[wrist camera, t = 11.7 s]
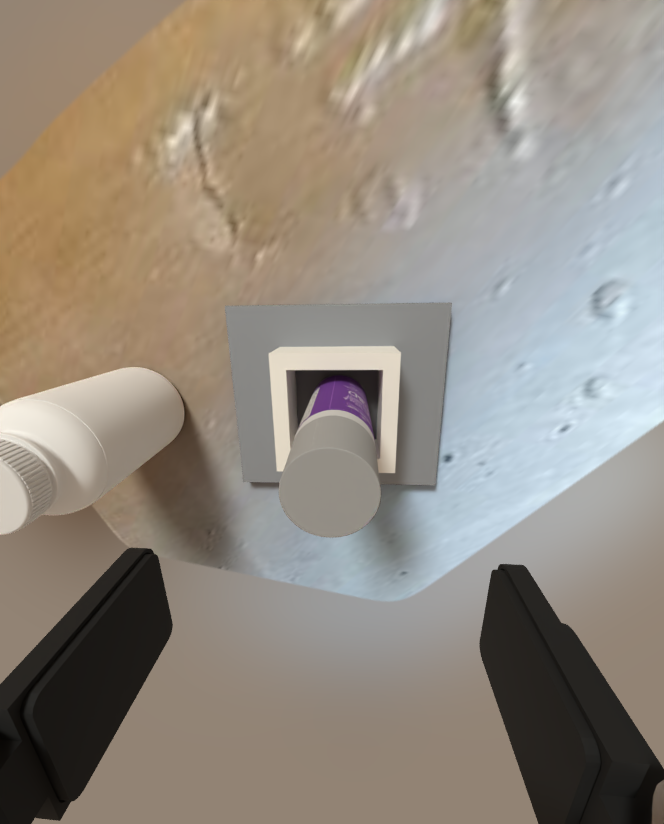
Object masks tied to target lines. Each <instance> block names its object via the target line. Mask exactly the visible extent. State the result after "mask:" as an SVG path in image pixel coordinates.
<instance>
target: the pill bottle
mask: <svg viewBox="0 0 664 824" xmlns="http://www.w3.org/2000/svg"><path fill="white" fill-rule="evenodd" d="M183 422H184V405H183V402H182V399H181V397H180V395H179V393H178V391H177V390H176V388H175V387H174V386H173V385H172V383H171V382H170V381H168V380H167V379H166V378H165V377H163V376H162V375H160V374H159V373H157V372H155V371H152V370H149V369H146V368H140V367H129V368H122V369H118V370H115V371H111V372H108V373H104V374H101V375H98V376H94V377H91V378H87V379H84V380H80V381H77V382H74V383H70V384H67V385H63V386H60V387H56V388H53V389H50V390H46V391H43V392H39V393H36V394H32V395H29V396H26V397H22V398H19V399H16V400H13V401H10V402H8V403H5V404H3V405H2V406H0V535H5V534H10V533H14V532H17V531H19V530H21V529H22V528H24V527H25V526H27V525H28V524H30V523H31V522H33V521H34V520H35V519H37V518H38V517H39V516H41V515H63V514H68V513H73V512H76V511H78V510H81V509H84V508H86V507H88V506H90V505H91V504H93V503H94V502H96V501H97V500H98V499H100V498H101V497H102V496H104V495H105V494H106V493H107V492H109V491H110V490H111V489H112V488H114V487H115V486H116V485H117V484H119V483H120V482H121V481H123V480H124V479H125V478H126V477H128V476H129V475H130V474H131V473H133V472H134V471H135V470H136V469H138V468H139V467H140V466H142V465H143V464H144V463H145V462H147V461H148V460H149V459H150V458H152V457H153V456H154V455H155V454H157V453H158V452H159V451H161V450H162V449H163V448H164V447H166V446H167V445H168V444H169V443H171V442H172V441H173V440H174V439H175V437H176V436H177V435H178V434H179V432H180V430H181V428H182V426H183Z"/></svg>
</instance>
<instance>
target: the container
mask: <svg viewBox="0 0 664 824" xmlns="http://www.w3.org/2000/svg"><path fill="white" fill-rule="evenodd" d="M279 498H280V503H281V505H282V508H283V510H284V512H285V513H286V515H287V516H288V518H289V519H290V520H291V521H292V522H293V523H294V524H295V525H296V526H298V527H299V528H301V529H302V530H304V531H306V532H308V533H310V534H313V535H317V536H321V537H342V536H346V535H350V534H352V533H354V532H357V531H358V530H360V529H362V528H363V527H364V526H366V525H367V524H368V523H369V522H370V521H371V520H372V518H373V517H374V516H375V514H376V512H377V510H378V508H379V504H380V500H381V487H380V479H379V471H378V463H377V454H376V445H375V439H374V434H373V428H372V423H371V418H370V413H369V408H368V402H367V397H366V393H365V391H364V389H363V387H362V385H361V384H360V383H359V382H358V381H357V380H356V379H354V378H352V377H350V376H347V375H343V374H336V375H331V376H328V377H326V378H325V379H323V380H322V381H321V382H320V383H319V384H318V385H317V386H316V388H315V390H314V392H313V394H312V397H311V399H310V402H309V404H308V406H307V409H306V411H305V413H304V416H303V418H302V421H301V423H300V425H299V428H298V430H297V432H296V435H295V438H294V441H293V444H292V447H291V450H290V453H289V456H288V459H287V462H286V464H285V467H284V470H283V473H282V476H281V479H280V483H279Z"/></svg>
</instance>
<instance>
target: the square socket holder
mask: <svg viewBox="0 0 664 824" xmlns="http://www.w3.org/2000/svg"><path fill="white" fill-rule="evenodd" d="M451 307H452V303H396V304H326V305H255V306H225V313H226V322H227V331H228V341H229V350H230V360H231V369H232V379H233V388H234V398H235V407H236V416H237V426H238V435H239V445H240V454H241V464H242V473H243V482H279V483H280V479H281V476H282V473H283V470H284V467H285V464H286V462H287V459H288V456H289V453H290V450H291V447H292V444H293V441H294V438H295V435H296V432H297V430H298V428H299V425H300V423H301V421H302V418H303V416H304V413H305V411H306V409H307V406H308V404H309V402H310V399H311V397H312V394H313V392H314V390H315V388H316V386H317V385H318V384H319V383H320V382H321V381H322V380H323V379H325V378H326V377H328V376H331V375H336V374H343V375H347V376H350V377H352V378H354V379H356V380H357V381H358V382H359V383H360V384H361V385H362V387H363V389H364V391H365V393H366V397H367V402H368V408H369V413H370V418H371V423H372V428H373V434H374V439H375V445H376V454H377V463H378V471H379V479H380V484H396V485H435V482H436V471H437V460H438V449H439V438H440V427H441V416H442V405H443V394H444V383H445V372H446V361H447V350H448V340H449V329H450V318H451Z"/></svg>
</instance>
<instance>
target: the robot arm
mask: <svg viewBox="0 0 664 824" xmlns="http://www.w3.org/2000/svg"><path fill="white" fill-rule="evenodd" d="M172 625H173V624H172V619H171V614H170V609H169V605H168V600H167V596H166V591H165V587H164V582H163V578H162V573H161V569H160V563H159V559H158V556H157V555H156V554H154V553H153V551H152V550H151V549H147V548H129V549H127V550H126V551H125V552H124V553H123V554H122V555H121V556H120V557H119V558H118V559H117V560H116V561H115V562H114V563H113V564H112V565H111V567H110V568H109V569H108V570H107V571H106V572H105V573H104V574H103V575H102V576H101V577H100V578H99V579H98V580H97V581H96V583H95V584H94V585H93V586H92V587H91V588H90V589H89V590H88V591H87V592H86V593H85V594H84V595H83V596H82V598H81V599H80V600H79V601H78V602H77V603H76V604H75V605H74V606H73V607H72V608H71V609H70V611H68V612H67V614H66V615H65V616H64V617H63V618H62V619H61V620H60V621H59V622H58V623H57V624H56V626H54V627H53V629H52V630H51V631H50V632H49V633H48V634H47V635H46V636H45V637H44V638H43V639H42V640H41V641H40V643H39V644H38V645H37V646H36V647H35V648H34V649H33V650H32V651H31V652H30V653H29V654H28V655H27V656H26V657H25V658H24V660H23V661H22V662H21V663H20V664H19V665H18V666H17V667H16V668H15V669H14V670H13V671H12V673H10V675H9V676H8V677H7V678H6V679H5V680H4V681H3V682H2V683H1V684H0V824H31V823H32V821H33V820H34V818H35V817H36V818H41V819H50V820H59V821H60V820H61V818H62V816H63V814H64V813H65V811H66V809H67V808H68V806H69V804H70V802H71V801H74V800H76V799H77V798H78V796H80V794H81V793H82V791H83V790H84V788H85V787H86V785H87V783H88V781H89V780H90V778H91V776H92V774H93V773H94V771H95V769H96V767H97V765H98V764H99V762H100V760H101V758H102V757H103V755H104V753H105V751H106V750H107V748H108V746H109V744H110V742H111V741H112V739H113V737H114V735H115V734H116V732H117V730H118V728H119V726H120V724H121V723H122V721H123V719H124V718H125V716H126V714H127V712H128V711H129V709H130V707H131V705H132V703H133V702H134V700H135V698H136V696H137V694H138V693H139V691H140V689H141V687H142V686H143V684H144V682H145V680H146V678H147V676H148V675H149V673H150V671H151V670H152V668H153V666H154V664H155V663H156V660H157V659H158V657H159V655H160V654H161V652H162V650H163V648H164V647H165V645H166V643H167V641H168V639H169V637H170V635H171V632H172ZM480 652H481V657H482V661H483V663H484V666H485V669H486V672H487V675H488V678H489V681H490V684H491V687H492V689H493V692H494V696H495V698H496V701H497V704H498V707H499V709H500V713H501V716H502V718H503V722H504V724H505V727H506V730H507V733H508V736H509V739H510V742H511V745H512V748H513V751H514V754H515V757H516V760H517V762H518V765H519V768H520V771H521V774H522V777H523V780H524V783H525V786H526V788H527V792H528V795H529V797H530V800H531V803H532V806H533V809H534V812H535V814H536V818H537V821H538V824H664V769H663V767H662V765H661V764H660V762H659V761H658V759H657V758H656V756H655V755H654V753H653V752H652V750H651V749H650V747H649V746H648V744H647V742H646V741H645V739H644V738H643V736H642V735H641V734H640V732H639V730H638V729H637V727H636V726H635V724H634V723H633V721H632V719H631V718H630V716H629V715H628V713H627V712H626V710H625V709H624V707H623V706H622V704H621V703H620V701H619V699H618V698H617V696H616V695H615V693H614V692H613V690H612V689H611V687H610V686H609V684H608V683H607V681H606V679H605V678H604V676H603V675H602V673H601V672H600V670H599V669H598V667H597V666H596V664H595V663H594V661H593V660H592V658H591V656H590V655H589V653H588V652H587V650H586V649H585V647H584V646H583V644H582V643H581V641H580V640H579V638H578V637H577V635H576V634H575V632H574V631H573V630H572V629H571V628H570V627H569V626H568V625H566V624H563V623H561V622H560V620H559V619H558V617H557V615H556V614H555V612H554V611H553V609H552V607H551V606H550V604H549V603H548V601H547V600H546V598H545V596H544V595H543V593H542V592H541V590H540V588H539V587H538V585H537V584H536V582H535V581H534V579H533V577H532V576H531V574H530V573H529V571H528V570H527V568H526V567H525V566H524V565H511V564H500V565H499V567H498V570H493V571H492V573H491V579H490V584H489V590H488V596H487V602H486V608H485V614H484V620H483V626H482V631H481V637H480Z"/></svg>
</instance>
